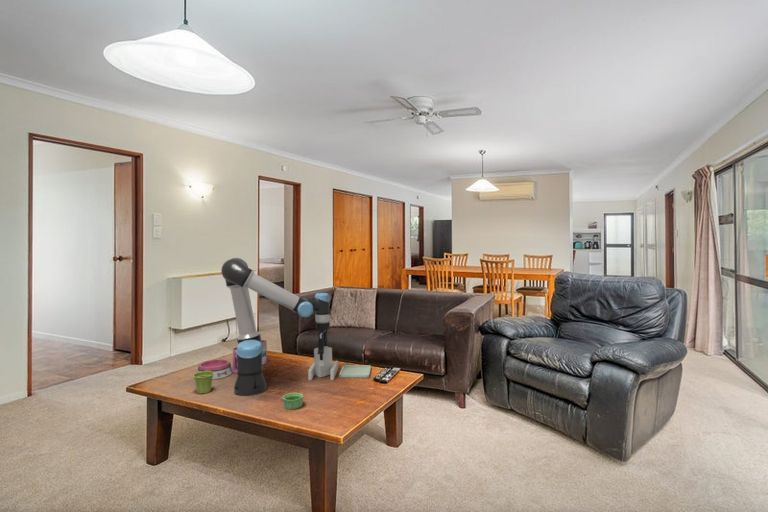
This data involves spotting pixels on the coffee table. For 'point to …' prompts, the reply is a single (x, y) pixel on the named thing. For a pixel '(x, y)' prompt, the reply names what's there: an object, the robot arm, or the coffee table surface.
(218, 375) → the dog bowl
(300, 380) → the coffee table surface
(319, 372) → the skincare box
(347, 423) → the coffee table surface
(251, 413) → the coffee table surface
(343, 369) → the tray
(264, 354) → the gum box
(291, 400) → the ramekin
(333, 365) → the bay
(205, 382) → the plant pot
